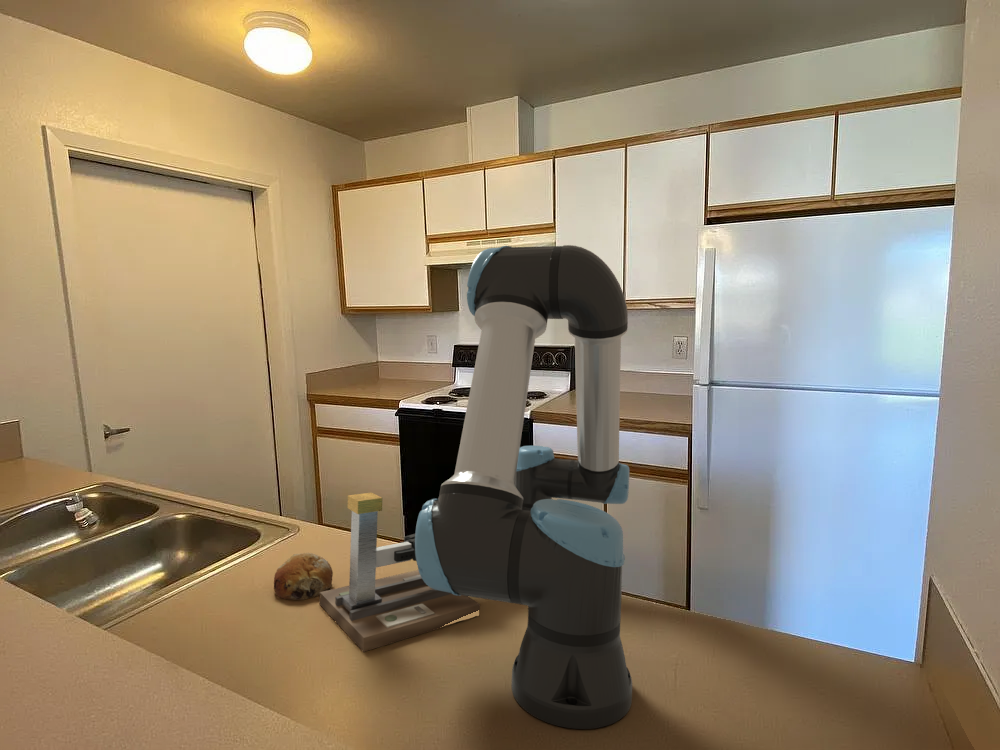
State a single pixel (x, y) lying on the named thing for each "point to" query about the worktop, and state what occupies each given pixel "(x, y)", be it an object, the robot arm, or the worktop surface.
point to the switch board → (396, 610)
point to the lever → (363, 551)
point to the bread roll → (302, 577)
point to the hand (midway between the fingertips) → (372, 558)
